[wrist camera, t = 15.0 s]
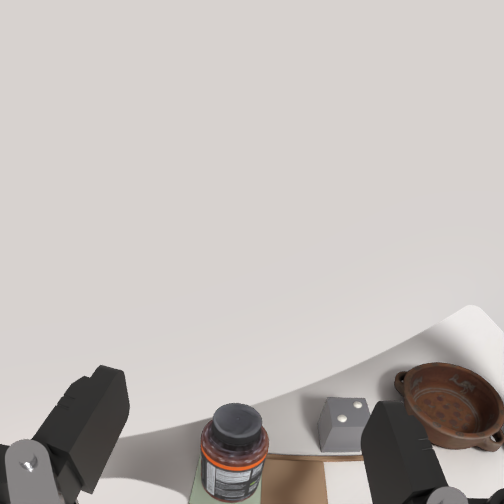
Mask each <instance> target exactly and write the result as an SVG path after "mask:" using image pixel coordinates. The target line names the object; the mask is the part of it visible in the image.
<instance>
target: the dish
mask: <svg viewBox="0 0 504 504" xmlns="http://www.w3.org/2000/svg"><path fill="white" fill-rule="evenodd" d="M401 381H403V383H402V382H401ZM394 385H395V388H396V389H397V390H398V391H399V392H400V393H401V394H402V395H403V397H404V406H405V409H406V411H407V413H408V415H414V416H415V417H416V418H417V419H418V420H419V421H420V422H421V423H422V424H423V426H424V428H425V430H426V433H427V435H428V437H429V438H428V440H430V442H431V443H433V444H435V445H438V446H441V447H444V448H448V449H455V450H458V449H467V448H470V447H473V446H478V447H480V448H481V449H484V450H486V451H490V452H494V451H497V450H498V449H499V448H500V446H501V445H502V444H503V443H504V434H503V432H502V430H501V429H500V428H501V427H502V426H503V424H504V405H503V402H502V400H501V397H500V396H499V394H498V393H497V391H496V390H495V389H494V388H493V387H492V386H491V385H490V384H489V383H488V382H487V381H486V380H485V379H483V378H482V377H481V376H479V375H478V374H476V373H474V372H473V371H471V370H468V369H466V368H463V367H460V366H457V365H453V364H448V363H439V362H437V363H427V364H422V365H419V366H416V367H414V368H412V369H411V370H409V371H408V372H405V371H404V372H399V373H398V374H397V375H396V377H395V382H394ZM491 435H492V436H493V437H494V439H495V441H496V442H495V441H493V440H492V439H491V437H490V436H491Z"/></svg>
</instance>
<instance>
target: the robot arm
mask: <svg viewBox="0 0 504 504" xmlns="http://www.w3.org/2000/svg"><path fill="white" fill-rule="evenodd" d="M129 409H130V404H129V398H128V392H127V387H126V381H125V375H124V372H123V371H122V370H118V369H114V368H110V367H107V366H103V365H100V366H99V367H98V368H97V369H96V370H95V372H94V373H93V375H92V376H91V377H90V378H89V377H86V376H83V377H82V378H80V379H78V380H77V381H75V382H74V383H72V384H71V385H70V387H69V388H68V389H67V391H66V392H65V394H64V396H63V397H62V398H61V399H60V400H59V402H58V403H57V406H55V407H54V409H53V410H52V411H51V413H50V414H49V416H48V417H47V418H46V420H45V421H44V423H43V424H42V425H41V427H40V428H39V430H38V431H37V433H36V434H35V435H34V437H33V438H32V439H31V440H29V439H24V440H19V441H17V442H15V443H13V444H12V445H11V446H7V445H2V444H0V504H79V503H78V500H77V497H78V494H79V492H80V490H82V491H85V492H87V493H90V494H92V493H93V491H94V489H95V487H96V485H97V482H98V480H99V478H100V476H101V474H102V472H103V469H104V467H105V465H106V463H107V461H108V459H109V457H110V455H111V452H112V450H113V448H114V446H115V444H116V442H117V440H118V438H119V435H120V433H121V431H122V429H123V427H124V425H125V423H126V421H127V418H128V415H129ZM428 438H429V437H428V435H427V433H426V430H425V428H424V426H423V424H422V423H421V422H420V421H419V420H418V419H417V418H416V417H415V416H414V415H408V413H407V411H406V409H405V406H404V404H403V403H402V402H401V401H379V402H377V404H376V405H375V407H374V409H373V411H372V414H371V416H370V418H369V420H368V422H367V424H366V426H365V428H364V430H363V432H362V435H361V451H362V455H363V460H364V464H365V469H366V473H367V478H368V483H369V487H370V492H371V497H372V502H373V504H504V488H503V489H500V490H498V491H497V492H495V493H494V494H493V495H492V496H491V497H490V498H489V499H476V498H466V496H465V495H464V493H462V492H461V491H460V490H458V489H456V488H453V487H449V486H448V484H447V482H446V479H445V476H444V474H443V471H442V469H441V466H440V464H439V461H438V459H437V456H436V454H435V451H434V450H433V449H432V444H431V442H430V440H428Z"/></svg>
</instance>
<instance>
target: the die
mask: <svg viewBox="0 0 504 504" xmlns="http://www.w3.org/2000/svg"><path fill="white" fill-rule="evenodd" d="M370 416H371V415H370V412H369V409H368V406H367V403H366V400H365V398H333V397H327V399H326V402H325V405H324V408H323V410H322V413H321V416H320V419H319V421H318V430H319V438H320V446H321V452H359V451H360V450H361V435H362V432H363V430H364V428H365V426H366V424H367V422H368V420H369V418H370Z"/></svg>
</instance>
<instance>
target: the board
mask: <svg viewBox="0 0 504 504" xmlns="http://www.w3.org/2000/svg"><path fill="white" fill-rule="evenodd" d="M342 461H364V460H363V455H361V456H293V455H276V454H267V455H266V459H265V463H264V467H263V470H262V474H261V478H260V481H259V485H258V487H257V489H256V491H255V492H254V494H253V495H252V496H251V497H250V498H248V499H246V500H244V501H242V502H237V503H225V502H221V501H218V500H216V499H214V498H212V497H211V496H210V495H209V494H208V493H207V492H206V491H205V490H204V488H203V485H202V481H201V453H200V457H199V462H198V466H197V470H196V475H195V479H194V484H193V488H192V492H191V497H190V501H189V504H328V499H327V490H326V481H325V472H324V464H323V462H342Z"/></svg>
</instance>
